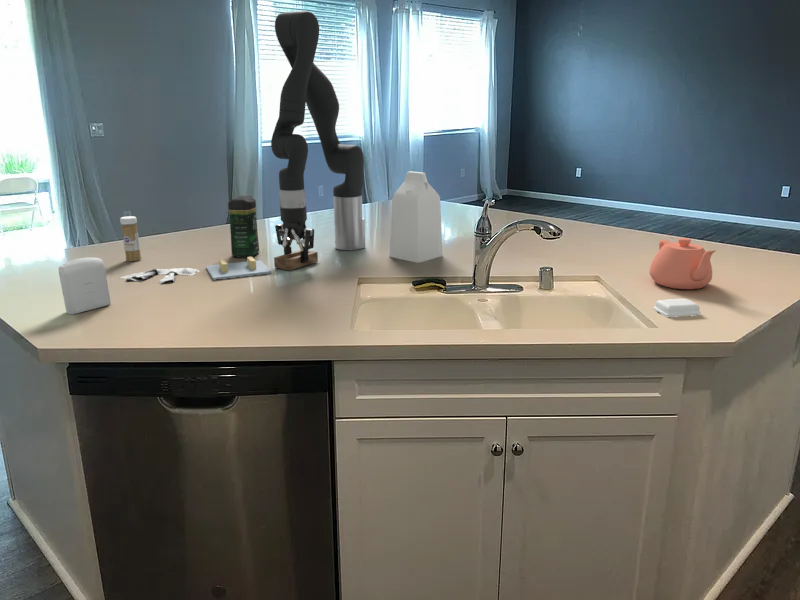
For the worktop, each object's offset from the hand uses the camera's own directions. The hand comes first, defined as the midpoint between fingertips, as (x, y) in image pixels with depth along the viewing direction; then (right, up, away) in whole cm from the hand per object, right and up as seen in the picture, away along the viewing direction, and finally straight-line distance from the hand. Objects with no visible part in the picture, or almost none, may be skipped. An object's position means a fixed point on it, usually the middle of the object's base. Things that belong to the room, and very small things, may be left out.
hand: (296, 260), depth 191 cm
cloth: (-37, -6, -11) cm, 39 cm away
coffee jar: (-18, +3, +14) cm, 23 cm away
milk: (+36, +2, +10) cm, 37 cm away
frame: (0, -1, 0) cm, 1 cm away
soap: (+95, -15, -42) cm, 105 cm away
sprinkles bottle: (-52, +1, +8) cm, 52 cm away
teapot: (+105, -8, -21) cm, 107 cm away
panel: (-16, -3, -5) cm, 17 cm away
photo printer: (-44, -14, -37) cm, 59 cm away
